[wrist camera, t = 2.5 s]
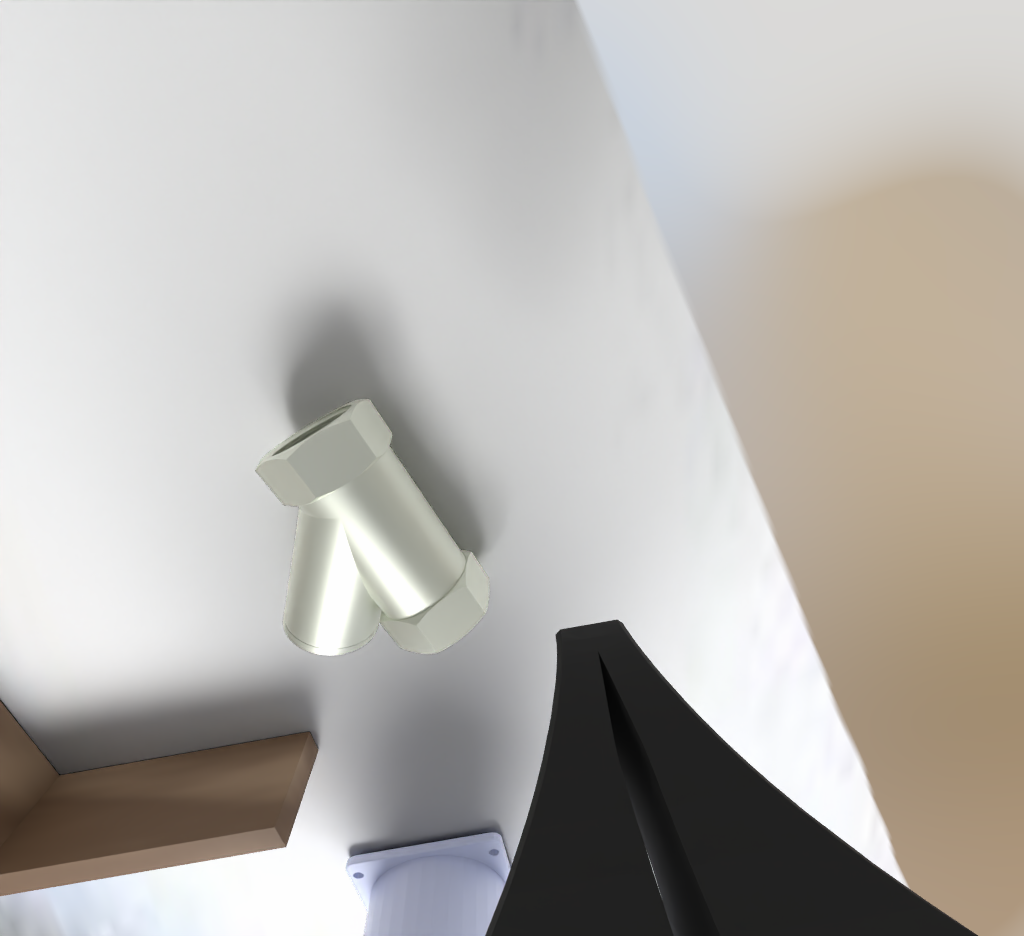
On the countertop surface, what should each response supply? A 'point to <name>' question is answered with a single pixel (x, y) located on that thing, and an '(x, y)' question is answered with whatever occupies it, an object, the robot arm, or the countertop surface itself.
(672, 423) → the countertop surface
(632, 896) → the robot arm
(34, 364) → the countertop surface
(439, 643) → the pipe fitting
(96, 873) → the corner arena
